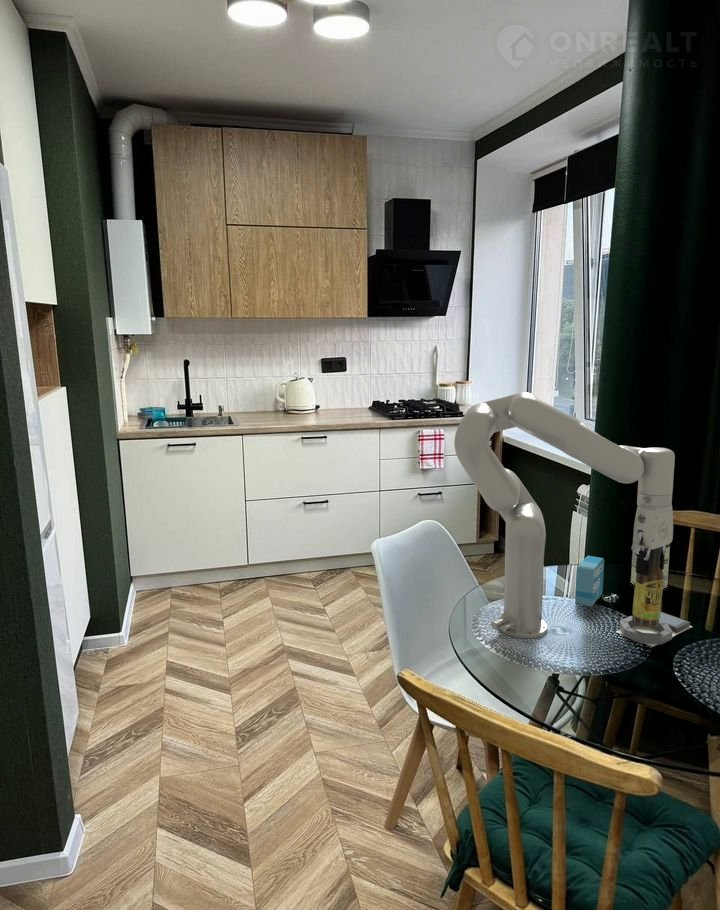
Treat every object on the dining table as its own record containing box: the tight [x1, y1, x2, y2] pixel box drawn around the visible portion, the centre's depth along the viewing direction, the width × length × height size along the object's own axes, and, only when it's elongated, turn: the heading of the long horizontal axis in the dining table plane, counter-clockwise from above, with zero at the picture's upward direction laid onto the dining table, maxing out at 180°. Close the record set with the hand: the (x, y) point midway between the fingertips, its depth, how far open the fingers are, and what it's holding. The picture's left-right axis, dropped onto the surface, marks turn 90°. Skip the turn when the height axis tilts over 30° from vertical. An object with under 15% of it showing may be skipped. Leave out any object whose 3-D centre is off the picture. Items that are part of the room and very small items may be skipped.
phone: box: [659, 611, 691, 633], centre depth 166 cm, size 6×9×1 cm, turn 35°
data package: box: [574, 555, 605, 608], centre depth 182 cm, size 12×4×12 cm, turn 146°
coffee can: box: [630, 540, 672, 590], centre depth 193 cm, size 10×10×14 cm
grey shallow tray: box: [615, 615, 693, 648], centre depth 163 cm, size 19×11×3 cm, turn 125°
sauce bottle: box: [632, 545, 664, 627], centre depth 158 cm, size 6×6×20 cm
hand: (649, 570), depth 158 cm, fingers closed on sauce bottle, 5 cm apart
